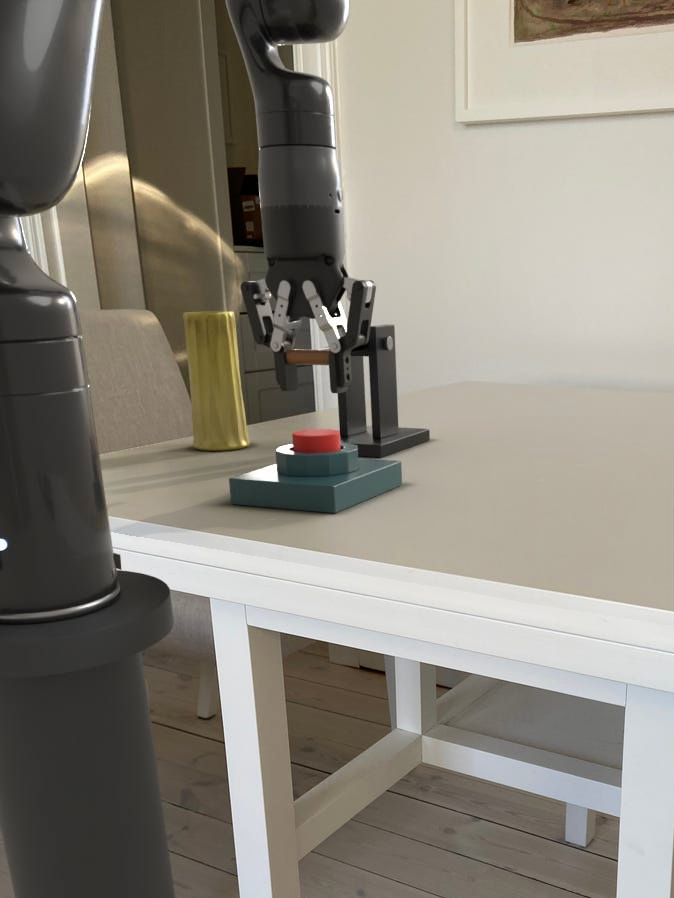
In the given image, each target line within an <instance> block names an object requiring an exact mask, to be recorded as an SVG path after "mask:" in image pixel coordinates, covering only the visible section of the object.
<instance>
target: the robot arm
mask: <svg viewBox="0 0 674 898" xmlns="http://www.w3.org/2000/svg"><path fill="white" fill-rule="evenodd" d="M224 1H225V6H226V9H227V13H228V16H229V20H230V22H231V25H232V29H233V31H234V34H235V36H236V40H237V43H238V46H239V49H240V52H241V54H242V58H243V61H244V66H245V69H246V72H247V76H248V80H249V83H250V88H251V91H252V96H253V102H254V108H255V121H256V132H257V133H256V134H257V145H258V146H257V147H258V169H257V171H258V172H257V179H258V181H257V182H258V192H259V205H260V217H261V218H260V219H261V231H262V241H263V253H264V255H265V257H266V260H267V269H266V270H267V271H266V273H265V276H264V278H260V279H258V280H248V281H247V280H246V281H242V282H241V284H240V292H241V295H242V299H243V302H244V307H245V310H246V314H247V318H248V321H249V325H250V328H251V333H252V335H253V339H254V342H255V343H256V344H257V345H263V346H265V347H267V348H269V349H270V350H271V351H272V353H273V360H274V372H275V381H276V383H277V385H278V386H279V387H280V390H281V391H282V392H292V391H293V392H294V391H297V390H298V387H299V378H298V377H299V376H298V375H299V374H298V365H297V364H289V363H288V362H287V360H286V352H287V350H289V349H294V347H295V343H296V340H297V335H298V331H299V330H300V328H301V327H302V325H303V321H304V319H310V320H315V321H316V324H317V326H318V329H319V330H320V331H322V332H323V334H324V338H325V341H326V342H327V345H328V346H329V348H330V350H331V351H332V354H328V359H329V365H328V371H329V373H328V374H329V389H330V392H331V393H332V394H338V393H343V392H346V391H347V389H348V386H350V385H351V381H352V377H351V359H350V353H351V351H352V349H354V348H355V347H358V346H360V345H365V344H367V343H368V340H369V334H370V327H371V326H372V319H373V313H374V306H375V305H374V304H375V298H376V293H377V292H376V291H377V284H376V282H375V281H373V280H372V279H370V280H369V279H358V278H354V277H350V276H349V272H348V271H347V269H346V266H345V261H344V260H345V255H346V244H345V243H346V242H345V228H344V208H343V207H344V206H343V200H344V194H343V190H342V177H341V170H340V165H339V160H338V151H337V134H336V119H335V115H336V114H335V102H334V101H335V100H334V94H333V90H332V86H331V85H330V83H329V82H328V81H327V80H326V79H324V78H323V77H322V76H318V75H315V74H312V73H307V72H301V71H296V70H293V69H292V70H291V69H288V68H286V67H285V65H284V63H283V62H282V60H281V58H280V55H279V50H278V47H279V46H292V45H312V44H315V45H316V44H327V43H330V42H333V41H336V40H337V39H338V38H339V37H340V36H341V35H342V34H343V32H344V31H345V29H346V27H347V24H348V21H349V17H350V11H351V0H224ZM105 5H106V0H0V624H13V625H20V624H38V623H48V622H55V621H61V620H67V619H71V618H76V617H80V616H83V615H87V614H90V613H94V612H96V611H99V610H101V609H104V608H106V607H108V606H110V605H111V604H113V603H115V602H116V601H117V600H118V599H119V598H120V596H121V592H120V585H119V582H118V581H117V570H121V571H122V559H121V558H122V557H121V554H120V553H116V552H114V549H113V548H114V547H113V540H112V534H111V526H110V519H109V513H108V506H107V505H108V504H107V498H106V491H105V484H104V477H103V471H102V463H101V457H100V451H99V450H100V449H99V442H98V435H97V429H96V422H95V421H96V420H95V415H94V407H93V401H92V394H91V388H90V387H91V386H90V381H89V380H90V378H89V373H88V365H87V359H86V353H85V352H86V351H85V345H84V337H83V336H82V335H83V332H82V331H83V330H82V325H81V317H80V312H79V311H80V310H79V306H78V302H77V299H76V297H75V295H74V293H73V292H72V291H71V289H69V288H68V287H66V286H65V285H64V284H62V283H60V282H58V281H57V280H55V279H54V278H52V277H51V276H49V275H48V274H47V273H45V271H44V270H42V269H41V268H40V266H39V265H38V264H37V262H36V261H35V260H34V258H33V256H32V254H31V253H30V251H29V247H28V244H27V241H26V237H25V232H24V229H23V224H22V219H21V218H25V217H30V216H35V215H39V214H42V213H44V212H47V211H48V210H51V209H52V208H54V207H55V206H57V205H58V204H59V203H61V202H62V200H64V198H65V197H66V196H67V194H68V193H69V192H70V191H71V189H72V187H73V186H74V184H75V181H76V179H77V177H78V175H79V172H80V169H81V166H82V162H83V158H84V154H85V149H86V145H87V139H88V133H89V126H90V120H91V119H90V118H91V110H92V101H93V94H94V86H95V77H96V68H97V62H98V61H97V60H98V53H99V45H100V39H101V31H102V23H103V17H104V12H105ZM345 293H346V298H347V300H348V302H349V307H348V308H349V309H348V315H347V317H346V315H345V312H344V309H343V307H342V303H341V300H342V299H343V297H344V294H345ZM272 297H273V298H274V299H275V301H276V305H275V309H274V313H273V311H272V307H271V304H270V300H271V298H272ZM346 325H347V327H346Z"/></svg>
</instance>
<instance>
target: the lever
mask: <svg viewBox="0 0 674 898" xmlns="http://www.w3.org/2000/svg"><path fill="white" fill-rule="evenodd" d="M328 354H332V351H331V350H330V348H329V345H328V346H324V347H321V348H317V349H304V348H303V349H302V348H293V349H289V350H287V352H286V360H287V362H288V363H289V364H297V366H299V365H300V366H301V365H303V366H304V365H305V366H329V359H328ZM351 356H363V357H368V358H369V354H368V343H367V344H365V345H360V346H358V347H355V348H354V349H352V351H351Z"/></svg>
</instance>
